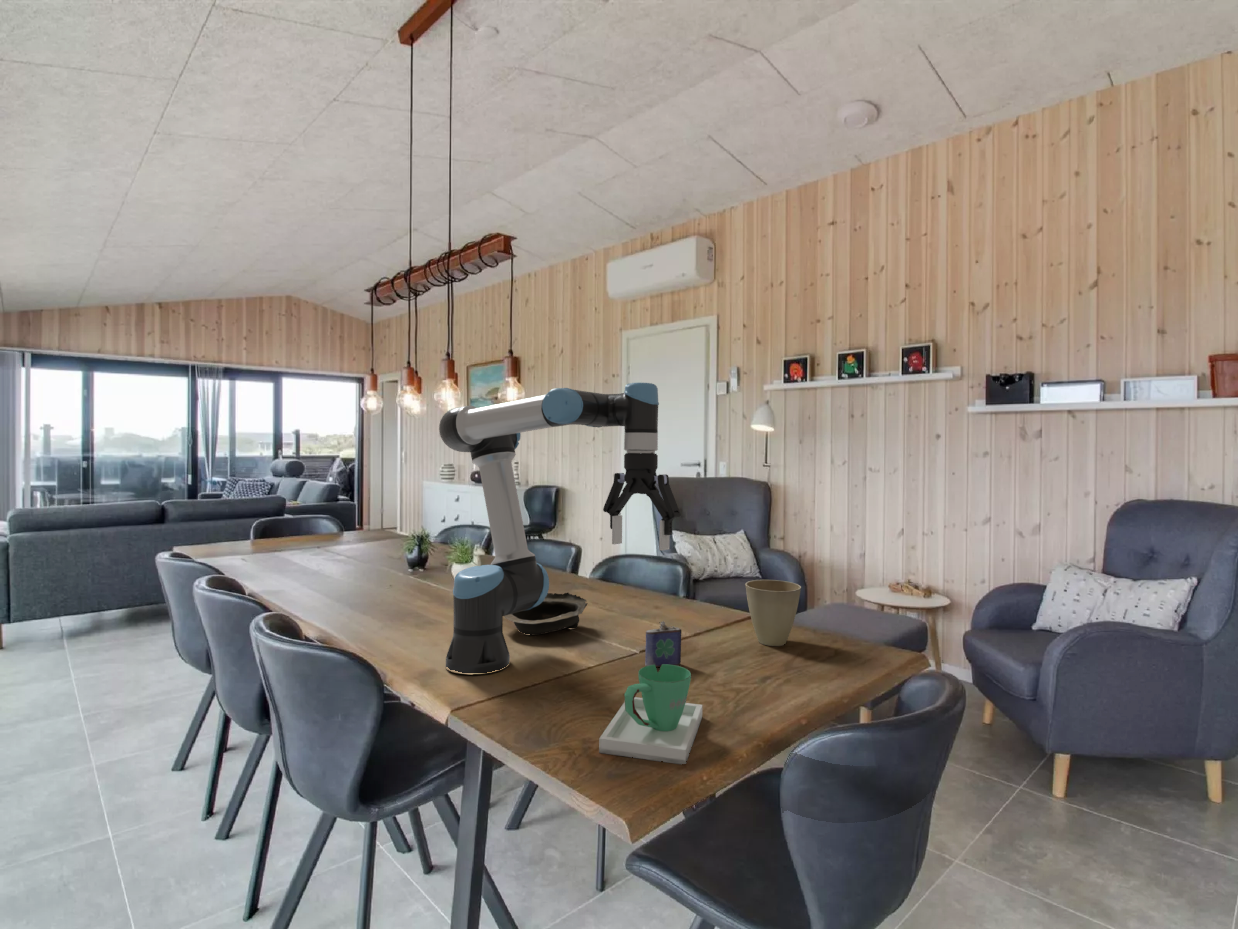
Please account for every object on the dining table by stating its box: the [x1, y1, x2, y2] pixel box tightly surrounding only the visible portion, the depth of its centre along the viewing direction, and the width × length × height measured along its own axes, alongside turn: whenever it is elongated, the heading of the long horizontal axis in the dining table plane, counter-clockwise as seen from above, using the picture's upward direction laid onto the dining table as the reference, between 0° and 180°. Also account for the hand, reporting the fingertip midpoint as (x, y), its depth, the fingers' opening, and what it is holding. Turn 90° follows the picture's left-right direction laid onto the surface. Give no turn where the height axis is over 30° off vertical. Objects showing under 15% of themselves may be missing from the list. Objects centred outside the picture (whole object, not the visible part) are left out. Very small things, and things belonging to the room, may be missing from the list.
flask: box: [644, 620, 682, 667], centre depth 156 cm, size 9×3×11 cm, turn 109°
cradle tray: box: [598, 696, 703, 765], centre depth 118 cm, size 15×20×2 cm
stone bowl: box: [503, 592, 589, 636], centre depth 186 cm, size 25×25×9 cm
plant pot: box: [744, 579, 802, 647], centre depth 176 cm, size 15×15×16 cm
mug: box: [623, 664, 692, 731], centre depth 117 cm, size 15×10×10 cm
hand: (639, 546), depth 144 cm, fingers open, 13 cm apart
